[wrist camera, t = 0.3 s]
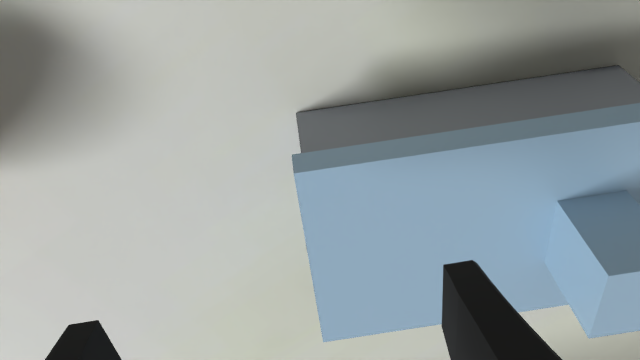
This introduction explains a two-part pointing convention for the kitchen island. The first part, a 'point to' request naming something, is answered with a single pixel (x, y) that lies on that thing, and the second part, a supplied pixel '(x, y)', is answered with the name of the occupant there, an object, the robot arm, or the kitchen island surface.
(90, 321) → the robot arm
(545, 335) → the kitchen island surface
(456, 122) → the tub
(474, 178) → the lid
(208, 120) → the kitchen island surface
